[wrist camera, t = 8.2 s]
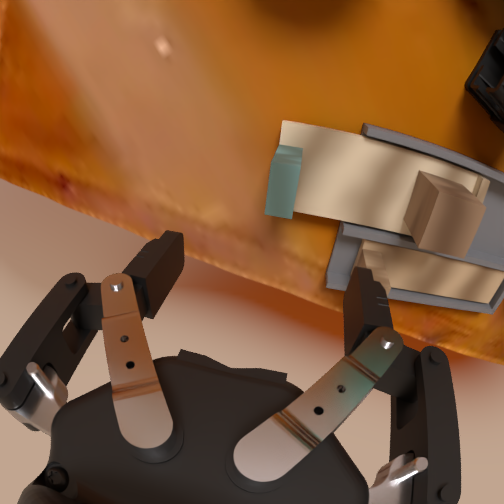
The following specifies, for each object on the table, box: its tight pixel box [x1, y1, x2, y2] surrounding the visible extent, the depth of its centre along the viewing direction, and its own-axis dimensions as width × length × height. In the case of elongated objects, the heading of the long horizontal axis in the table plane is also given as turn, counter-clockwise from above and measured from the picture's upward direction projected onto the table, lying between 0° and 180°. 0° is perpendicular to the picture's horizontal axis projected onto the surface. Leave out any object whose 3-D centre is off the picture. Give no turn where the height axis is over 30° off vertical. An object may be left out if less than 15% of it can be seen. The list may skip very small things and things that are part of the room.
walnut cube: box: [403, 170, 486, 259], centre depth 21 cm, size 5×5×5 cm
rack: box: [326, 123, 504, 314], centre depth 25 cm, size 24×17×2 cm
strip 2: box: [350, 239, 504, 304], centre depth 26 cm, size 20×5×6 cm, turn 84°
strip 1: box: [265, 120, 490, 236], centre depth 22 cm, size 20×8×6 cm, turn 84°
